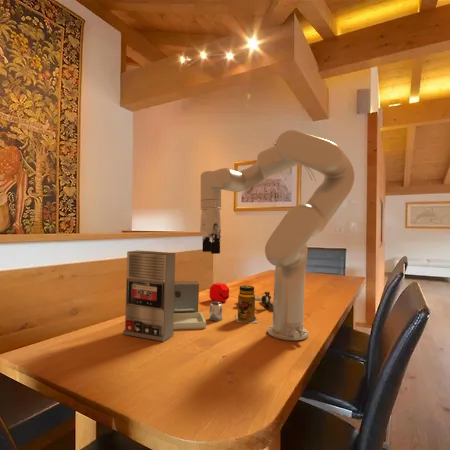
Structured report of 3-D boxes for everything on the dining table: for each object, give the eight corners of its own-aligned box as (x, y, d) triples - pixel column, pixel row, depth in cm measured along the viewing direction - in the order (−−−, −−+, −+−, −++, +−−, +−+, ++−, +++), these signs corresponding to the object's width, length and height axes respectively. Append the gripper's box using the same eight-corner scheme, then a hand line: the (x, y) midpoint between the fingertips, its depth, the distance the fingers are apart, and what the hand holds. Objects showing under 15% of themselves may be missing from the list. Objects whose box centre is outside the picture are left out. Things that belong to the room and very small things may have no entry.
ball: (219, 304, 131) (220, 286, 131) (206, 301, 136) (206, 283, 136) (231, 301, 137) (232, 284, 137) (218, 298, 142) (218, 281, 142)
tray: (205, 328, 101) (206, 322, 101) (171, 329, 99) (171, 323, 99) (201, 317, 112) (201, 312, 112) (169, 318, 110) (169, 313, 110)
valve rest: (276, 310, 124) (276, 304, 124) (247, 311, 122) (247, 305, 122) (264, 301, 138) (264, 296, 138) (238, 302, 135) (238, 296, 135)
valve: (239, 307, 130) (265, 310, 124) (237, 292, 129) (263, 295, 123) (246, 301, 136) (272, 304, 129) (244, 287, 135) (270, 289, 128)
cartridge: (223, 320, 109) (224, 303, 110) (211, 321, 108) (211, 303, 108) (219, 317, 114) (220, 300, 114) (208, 317, 112) (208, 301, 112)
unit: (198, 317, 112) (199, 284, 112) (170, 318, 110) (171, 284, 110) (195, 312, 119) (196, 280, 119) (169, 313, 116) (170, 281, 116)
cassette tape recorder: (122, 335, 93) (125, 251, 93) (135, 328, 99) (137, 250, 98) (162, 342, 88) (165, 254, 88) (173, 335, 94) (176, 253, 94)
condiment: (237, 322, 108) (238, 288, 108) (235, 315, 116) (236, 283, 116) (257, 323, 108) (259, 288, 108) (254, 316, 117) (255, 284, 116)
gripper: (194, 207, 120) (194, 251, 120) (208, 203, 104) (208, 254, 104) (212, 207, 123) (212, 250, 123) (229, 204, 107) (229, 254, 106)
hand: (210, 252), depth 113 cm, fingers open, 9 cm apart
